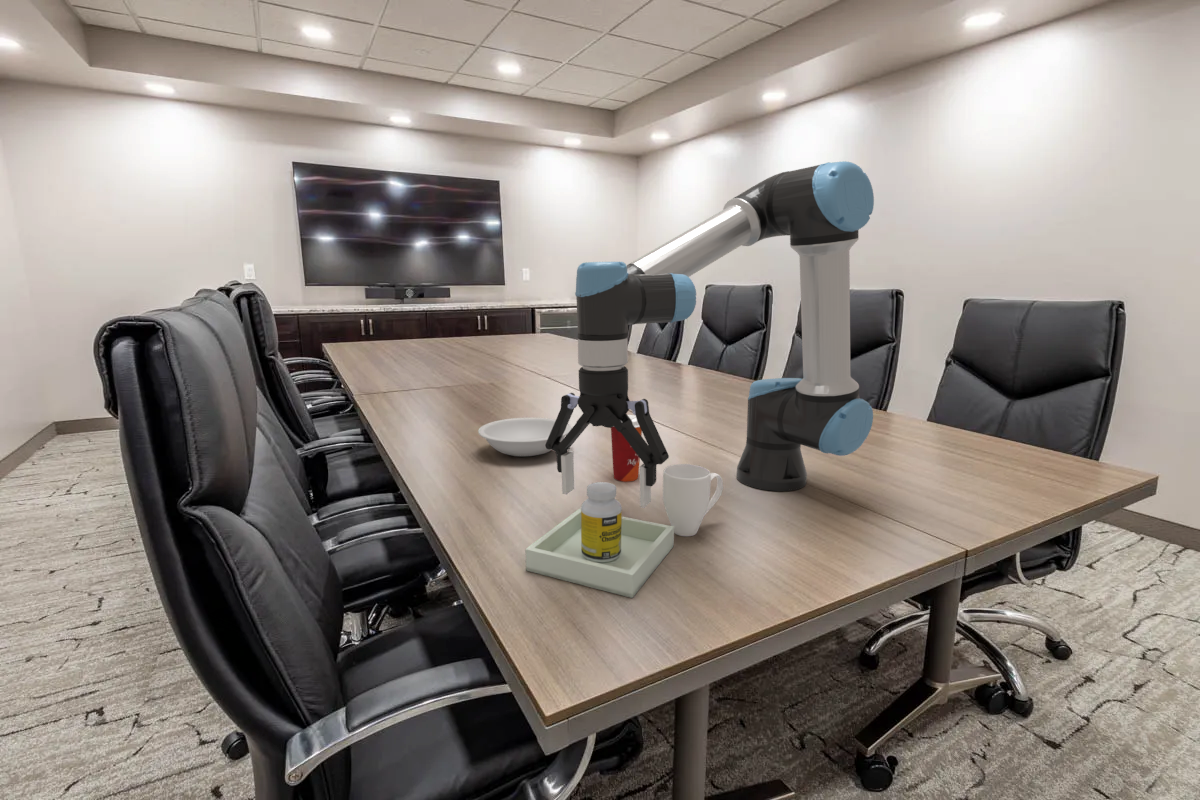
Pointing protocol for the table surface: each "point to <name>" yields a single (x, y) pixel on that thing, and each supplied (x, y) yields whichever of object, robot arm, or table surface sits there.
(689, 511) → the mug
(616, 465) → the paper cup
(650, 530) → the tray
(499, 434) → the soup bowl
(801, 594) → the table surface
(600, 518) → the pill bottle
